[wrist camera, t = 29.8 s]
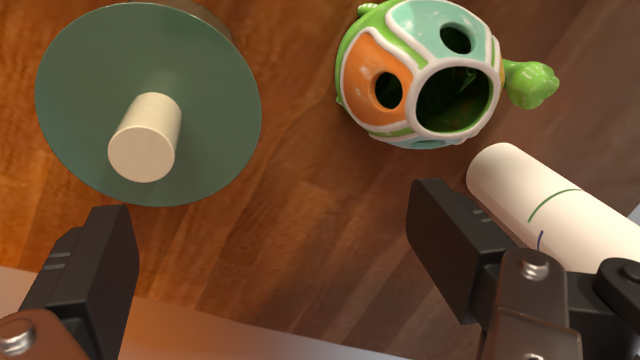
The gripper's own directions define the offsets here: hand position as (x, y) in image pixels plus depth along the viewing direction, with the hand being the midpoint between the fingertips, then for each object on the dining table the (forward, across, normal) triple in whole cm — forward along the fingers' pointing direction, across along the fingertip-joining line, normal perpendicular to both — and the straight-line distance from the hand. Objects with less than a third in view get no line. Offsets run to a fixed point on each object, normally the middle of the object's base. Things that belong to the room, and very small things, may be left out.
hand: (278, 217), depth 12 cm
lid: (+17, +6, +3) cm, 19 cm away
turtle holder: (+28, -16, +3) cm, 33 cm away
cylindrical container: (+28, -28, +16) cm, 43 cm away
